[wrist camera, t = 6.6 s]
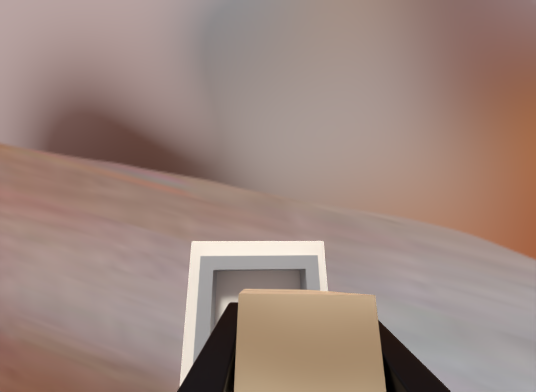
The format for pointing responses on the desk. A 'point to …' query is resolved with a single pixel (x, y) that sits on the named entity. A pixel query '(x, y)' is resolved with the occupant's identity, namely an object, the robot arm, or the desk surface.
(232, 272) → the square tray
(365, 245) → the desk surface
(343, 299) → the block
